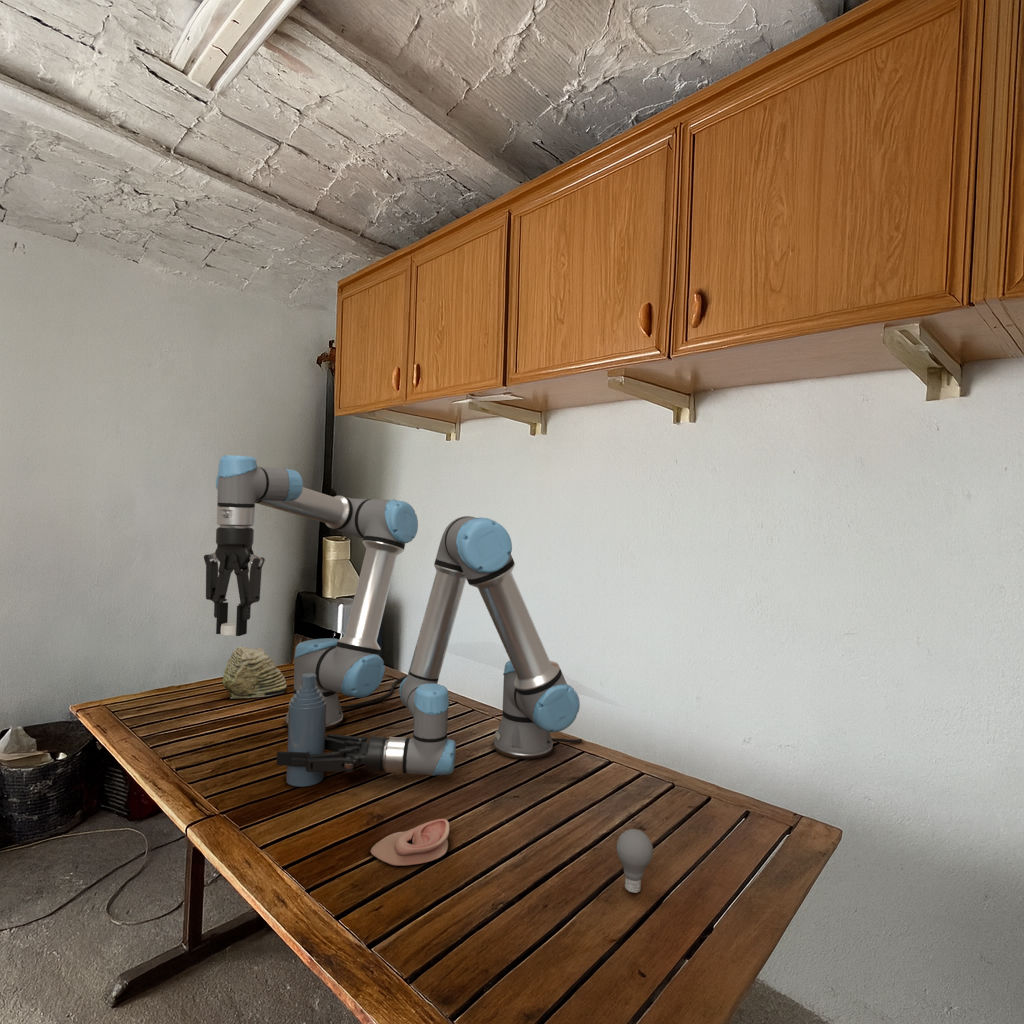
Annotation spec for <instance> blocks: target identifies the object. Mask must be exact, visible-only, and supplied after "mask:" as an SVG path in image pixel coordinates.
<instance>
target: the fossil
mask: <svg viewBox="0 0 1024 1024" xmlns="http://www.w3.org/2000/svg"><path fill="white" fill-rule="evenodd" d="M222 676H223V677H222V685H223V687H224V688H225V690H226V691H228V693H229V698H230V699H250V698H264V697H271V696H275V695H281V694H284V693H285V691H286V689H287V687H288V686H287V680H286V678H285V676H284V674H283V673H282V672H281V669H279V668H278V667H277V665H276V663H275V662H274V660H273V659H272V658H271V657H270V656H269V655H268V654H267V653H266V652H265V650H264V649H263V648H260V647H258V648H251V647H247V646H246V647H245V646H238V647H237V648H236V649H235V650H233V651H232V653H231V656H230V657H229V659H228V660H227V663H226V666H225V668H224V671H223V675H222Z"/></svg>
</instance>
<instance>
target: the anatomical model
mask: <svg viewBox="0 0 1024 1024" xmlns="http://www.w3.org/2000/svg"><path fill="white" fill-rule="evenodd" d="M449 835H450V823H449V821H448V819H446V818H437V819H434V820H430V821H427V822H425V823H421V824H419V825H417V826H415V827H413V828H411V829H407V830H405V831H398V832H393V833H391V834H389V835H387V836H384V837H383V838H382V839H380V840H379V841H377V842H376V843H375V844H374V845H373V846H372V847H371V849H370V853H371V855H372V856H374V858H377V859H378V860H380V861H381V862H383V863H386V864H388V865H392V866H399V867H400V866H412V865H419V864H420V865H421V864H425V863H428V862H432V861H435V860H438V859H439V858H441V857H443V856H444V855H445V854H446V853H447V851H448V849H449V841H448V837H449Z"/></svg>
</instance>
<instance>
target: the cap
mask: <svg viewBox="0 0 1024 1024" xmlns="http://www.w3.org/2000/svg"><path fill="white" fill-rule="evenodd" d="M220 635H221V636H236V621H235V622H234V621H233V622H227V623H224V624H221V634H220Z"/></svg>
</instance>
